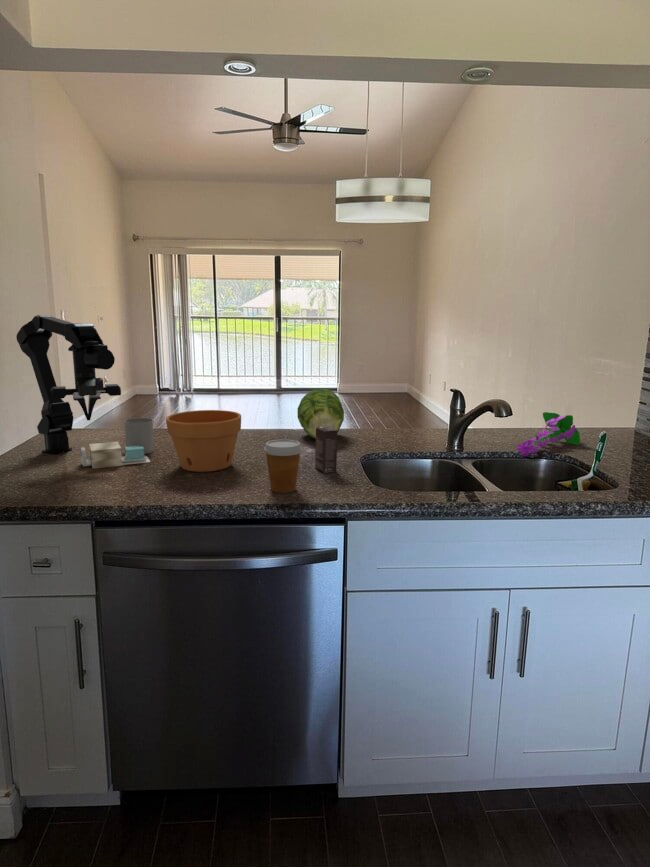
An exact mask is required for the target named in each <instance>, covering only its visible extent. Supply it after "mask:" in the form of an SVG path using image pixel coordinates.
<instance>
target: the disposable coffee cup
mask: <svg viewBox="0 0 650 867" xmlns="http://www.w3.org/2000/svg"><path fill="white" fill-rule="evenodd" d="M263 450H264V452H265V454H266V455H265V456H266V462H267V470H268V478H269V483H270V485H269V486H270V490H271V491H272V492H275V493H280V494H282V493H285V494H286V493H292V492H294V491H296V488H297V480H298V472H299V464H300V455H301V453H302V450H303V447H302V445H301V442H300V441H297V440H294V439H274V440H269V441H266V443H265V446H264V448H263Z"/></svg>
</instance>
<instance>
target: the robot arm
mask: <svg viewBox="0 0 650 867" xmlns="http://www.w3.org/2000/svg"><path fill="white" fill-rule="evenodd" d="M53 333H54V334H57V335H59V336H63V337H64V340H65V341H67V342H68V343H70V344H71V345H70V346H69V347H68V349H67V350H68V352H72V362H73V374H74V385H75V388H67V387H66V386H65V385H63V386H62V385H61V386H57V383H56V382H57V381H56V379H55V376H54V373H53V369H52V366H51V364H50V360H49V357H48V351H49V349H50V339H51V338H52V337H53ZM16 341H17V344H18V345H19V347H20V350H21V351H22V353H23V354H25V355H26V356H27V357H28V358H29V360H30V362H31V366H32V369H33V373H34V375H35V379H36V381H37V386H38V388H39V391H40V396H41V398H42V400H43V404H42V408H41V411H40V413H41V415H40V416H41V418H40V421H39V422H38V424H37V426H36V429H37V432H38V434H40V435H43V436H44V438H43V439H44V447H45V449H42V450H41V452H42V453H47V454H61V453H64V452H68V451H72V450H73V448H72V447H70V444H69V436H68V432H69V431H72V430H73V424H74V418H75V417H74V413H73V411H72V408H71V404H70V402H69V401H64V400H63V399H65V397H67V396H72V399H73V401H75V402H77V403H79V405H80V406H81V408H82V412H83V414H84V417H85V419H86V420H87V421H91V418H92V413H93V411H94V408H95V405H96V403H97V401H98V400H101V398H102V397H101V394H102V395H103V394H107V395H108V396H110V397H112V396H113V397H114V396H121V395H122V390H121V386H120V385H119V384H117V383H109V384H107V383H106V384H104V378H103V377H97V376H96V375H97V374H96V370H106V371H107V370H110V369H111V368H112V367H113V366H114V364H115V361H116V359H115V356H114V354H113V352H112V351H111V350H110V349H108V344H104V341H103V339H102V338H101V336H100V334H99V333H98V331H97V329H96V327H95V325H94V324H92V323H91V322H89V323H88V322H87V323H86V322H85V323H83V322H82V323H81V322H70V321H67V320H64V319H61V318H57V317H55V316H52V315H50V314H43V315H41V314H36V315H34V317H33V318H32V319H31V320H30V321H28V322H27V323H25V324H24V325H22V326H21V328H20V329H19V331H18V332H17V334H16ZM86 396H88V405H87V403H86V399H85V397H86ZM87 406H88V407H87Z"/></svg>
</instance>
